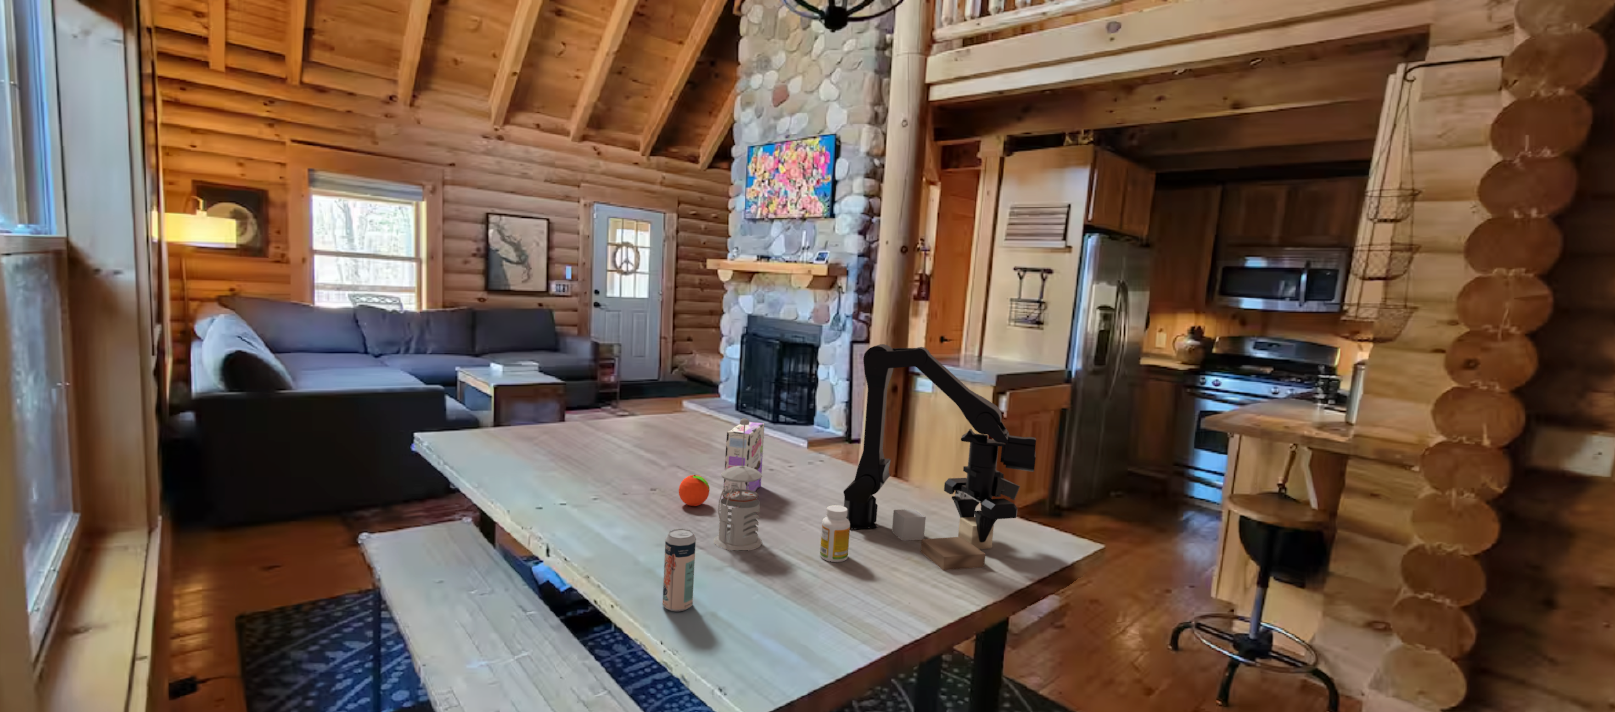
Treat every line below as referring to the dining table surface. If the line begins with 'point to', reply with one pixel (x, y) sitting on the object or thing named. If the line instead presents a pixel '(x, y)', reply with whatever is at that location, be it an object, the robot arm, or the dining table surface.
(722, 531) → the french press
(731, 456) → the candy box
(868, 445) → the robot arm
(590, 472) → the dining table surface
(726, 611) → the dining table surface
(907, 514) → the grey cube
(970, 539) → the maple cube
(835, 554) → the supplement bottle
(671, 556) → the beer can
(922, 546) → the walnut block
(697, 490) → the clementine
